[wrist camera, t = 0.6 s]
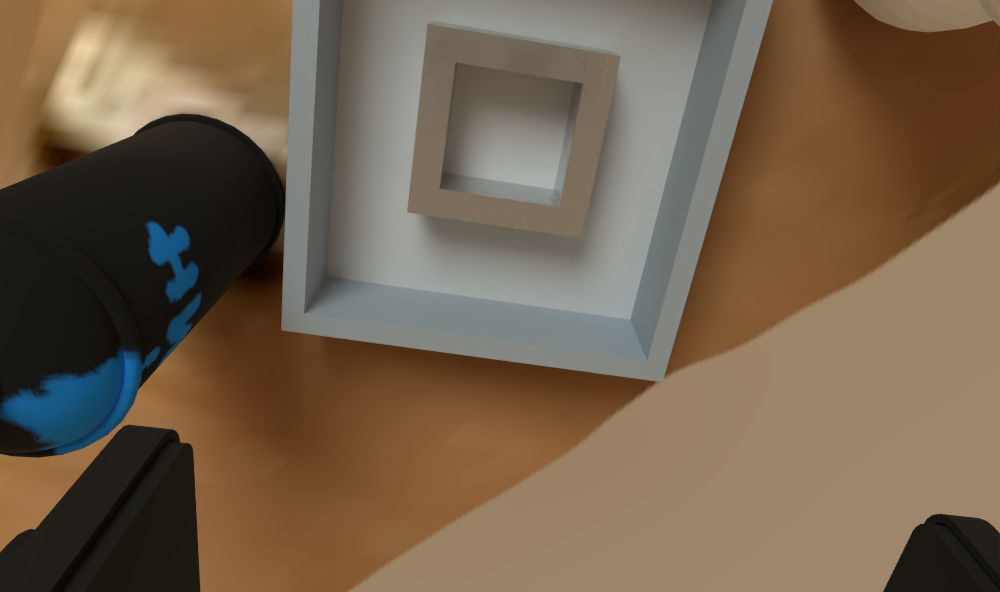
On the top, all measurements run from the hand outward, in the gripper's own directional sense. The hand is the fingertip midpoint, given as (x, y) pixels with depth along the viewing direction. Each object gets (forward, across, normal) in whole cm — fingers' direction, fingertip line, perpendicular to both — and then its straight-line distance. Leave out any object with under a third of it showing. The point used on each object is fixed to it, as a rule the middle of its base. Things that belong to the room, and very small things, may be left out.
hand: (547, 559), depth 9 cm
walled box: (+27, 0, -1) cm, 27 cm away
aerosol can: (+27, +15, +5) cm, 32 cm away
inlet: (+26, 0, -1) cm, 26 cm away
